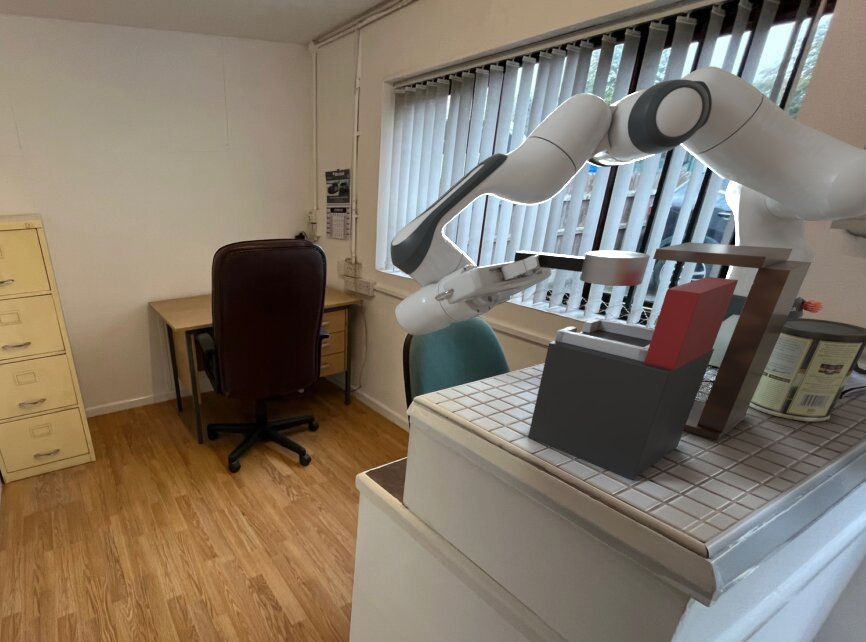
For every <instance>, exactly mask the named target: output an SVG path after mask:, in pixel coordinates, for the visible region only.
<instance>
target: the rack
mask: <svg viewBox="0 0 866 642" xmlns="http://www.w3.org/2000/svg"><path fill="white" fill-rule="evenodd" d="M791 251H792V249H789V248H772V247H756V246H740V245H735V244H721V243H704V242H702V243H701V242H684V243H683V242H682V243H679V244H674V245H668V246H663V247H659V248H655V251H654V255H653V258H652V259H653V260H659V261H660V260H661V261H670V262H671V261H672V262H681V263H693V264H703V265H704V264H705V265H715V266H726V267H727V266H728V267H730V266H737V267H748V268H758V271H757V273H756V276H755V278H754V281H753V283H752V286H751V288H750V291H749V293H748V296H747V299H746V301H745V304H744V306H743V309H742V311H741V314H740V316H739V319H738V322H737V324H736V327H735V329H734V332H733V334H732V337H731V339H730V342H729V344H728V347H727V350H726V352H725V355H724V357H723V360H722V362H721V365H720V367H718V369H717V372H716V375H715V378H714V380H713V383H712V384H711V385H712V386H711V388H710V389H709V393H708V395H707V398H706V400H705V401H702V400H700V399H697V398H696V399H695V401H694V404H693V407H692V409H691V412H690V415H689V417H688V420H687V422H686V425H685V428H684V430H683V431H686V432H688V433H692V434H696V435H698V436H702V437H704V438H707V439H711V440H713V441H718V440H720V439H721V438H723V437H724V436H725V435H726V434H728V432H730V431H731V430H733V428H736V426H738V425H739V424H741V422H742V421H744V420H745V419H746V416H747V415H748V413H747V411H748V409H749V407H750V406H749V405H750V402H751V400H752V398H753V395H754V393H755V391H756V388H757V386H758V384H759V382H760V379H761V377H762V375H763V372H764V370H765V368H766V366H767V363H768V361H769V359H770V356H771V354H772V352H773V350H774V347H775V345H776V343H777V340H778V338H779V336H780V333H781V331H782V329H783V327H784V324H785V322H786V320H787V317H788V315H789V313H790V311H791V308H792V306H793V304H794V301H795V299H796V297H797V294H798V292H799V290H800V288H801V285H802V283H803V281H804V278H805V276H806V274H807V272H808V269H809V267H810V265H811V262H801V261H788V259H789V256H790V254H791Z"/></svg>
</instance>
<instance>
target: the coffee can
mask: <svg viewBox="0 0 866 642" xmlns="http://www.w3.org/2000/svg"><path fill="white" fill-rule="evenodd" d="M865 348H866V328H865V327H862V326H859V325H854V324H850V323H845V322H840V321H834V320H825V319H815V318H804V317H803V318H787V320H786V322H785V324H784V327H783V329H782V331H781V333H780V336H779V338H778V340H777V343H776V345H775V347H774V350H773V352H772V354H771V356H770V359H769V361H768V363H767V366H766V368H765V370H764V372H763V375H762V377H761V379H760V382H759V384H758V386H757V388H756V391H755V393H754V395H753V398H752V400H751V402H750V405H749V407H750V408H752V409H754V410H756V411H759V412H761V413H764V414H768V415H772V416H775V417H779V418H783V419H787V420H793V421H800V422H812V423H813V422H825V421H828V420H829V419H830V418H831V414H832V412H833V410H834V408H835V407H836V405H837V402H838V401H839V399H840V397H841V395H842V393H843V391H844V390H845V387H846V385H847V383H848V381H849V379H850V377H851V375H852V374H853V372H854V370H853V369H854V368H855V366H856V364H857V363H859V361H860V358H861V356H862V354H863V353H864V350H865Z"/></svg>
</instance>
